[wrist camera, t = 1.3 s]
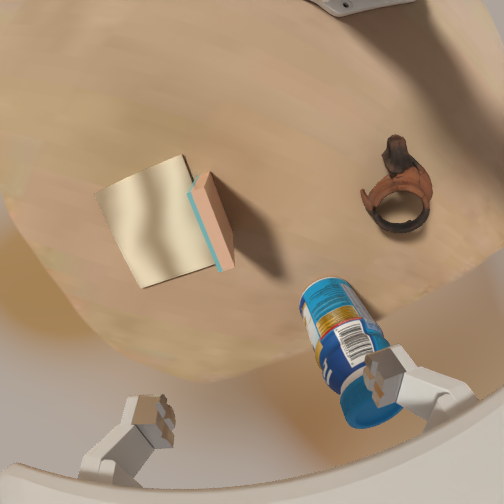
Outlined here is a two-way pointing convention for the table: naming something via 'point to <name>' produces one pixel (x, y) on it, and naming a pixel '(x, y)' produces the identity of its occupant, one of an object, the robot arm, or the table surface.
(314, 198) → the table surface
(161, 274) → the cream cloth
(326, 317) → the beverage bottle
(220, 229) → the glazed tile
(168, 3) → the table surface
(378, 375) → the robot arm
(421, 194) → the brown ring-shaped piece
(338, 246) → the table surface
